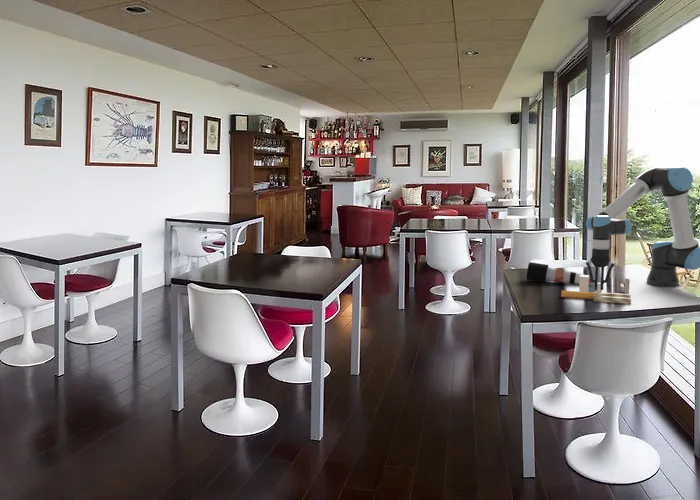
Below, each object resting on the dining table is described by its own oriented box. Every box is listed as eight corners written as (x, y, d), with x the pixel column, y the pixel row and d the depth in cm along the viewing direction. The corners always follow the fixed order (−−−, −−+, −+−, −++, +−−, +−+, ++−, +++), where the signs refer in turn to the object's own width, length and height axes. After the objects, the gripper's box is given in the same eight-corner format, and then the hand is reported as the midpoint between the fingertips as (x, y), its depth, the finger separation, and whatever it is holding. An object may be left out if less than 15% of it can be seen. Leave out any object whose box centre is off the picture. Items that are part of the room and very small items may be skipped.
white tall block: (588, 292, 292) (588, 275, 291) (587, 294, 289) (588, 276, 287) (579, 292, 294) (580, 274, 293) (579, 293, 290) (579, 276, 289)
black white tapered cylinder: (590, 293, 309) (593, 279, 303) (526, 283, 322) (527, 269, 316) (592, 282, 316) (594, 268, 310) (529, 272, 329) (530, 258, 323)
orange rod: (596, 295, 280) (597, 291, 278) (596, 300, 278) (596, 296, 276) (561, 293, 287) (561, 289, 284) (561, 298, 284) (561, 293, 282)
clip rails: (630, 299, 277) (630, 294, 277) (630, 303, 268) (631, 298, 268) (593, 296, 284) (594, 291, 284) (593, 301, 275) (593, 296, 274)
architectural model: (621, 294, 290) (622, 279, 289) (619, 291, 297) (620, 276, 295) (628, 294, 289) (629, 279, 288) (627, 291, 296) (627, 277, 294)
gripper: (615, 247, 276) (613, 295, 279) (586, 246, 281) (584, 293, 284) (615, 249, 269) (613, 299, 272) (585, 248, 274) (583, 297, 278)
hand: (598, 296), depth 278 cm, fingers closed
